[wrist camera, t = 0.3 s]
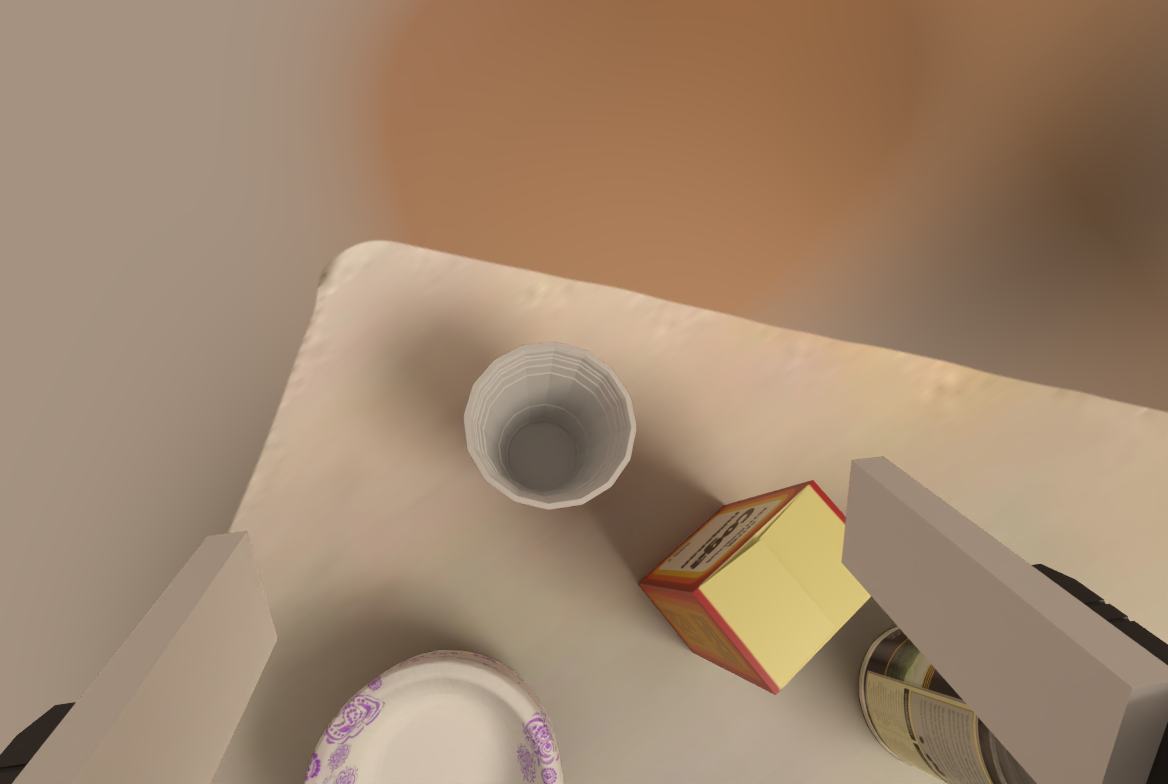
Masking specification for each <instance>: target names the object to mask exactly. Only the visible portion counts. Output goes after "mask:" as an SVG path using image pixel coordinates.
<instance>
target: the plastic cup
mask: <svg viewBox="0 0 1168 784" xmlns="http://www.w3.org/2000/svg"><path fill="white" fill-rule="evenodd" d="M463 417H464V425H465V434H466V442H467V450H468V452H469V453H470V455H471V457H472V459H473V460H474V462H475V464H476V465H477V467H478V469H479V471H480V472H481V474H482V476H483V477H484V479H485V480H486V481H487V482H488V483H490V484H491V485H492V486H494V487H495V488H496V489H498V490H499V491H501V492H502V493H503V494H505V495H506V496H507V497H509V498H510V499H511V500H513V501H515V502H519V503H523V504H527V505H531V506H535V507H539V508H543V509H547V510H551V509H557V508H563V507H570V506H576V505H583V504H584V503H586V502H588V501H589V500H591V499H592V498H594V497H596V496H597V495H599V494H600V493H602V492H604V491H605V490H607V489H609V488H610V487H612V485H613V484H614V482H615V481H616V480H617V478H618V477H619V475H620V474H621V472H622V471H623V469H624V468H625V467H626V465H627V464H628V462H629V461H630V459H631V454H632V449H633V444H634V439H635V434H636V429H637V426H636V422H635V417H634V412H633V407H632V402H631V397H630V395H629V393H628V392H627V390H626V389H625V387H624V386H623V384H622V383H621V381H620V380H619V378H618V377H617V375H616V374H615V372H614V371H613V369H612V368H610V367H609V366H607V365H606V364H605V363H603V362H602V361H600V360H599V359H598V358H596V357H595V356H593V355H592V354H591V353H589V352H588V351H587V350H583V349H579V348H576V347H572V346H568V345H565V344H561V343H557V342H550V343H539V344H529V345H522V346H520V347H518V348H516V349H514V350H512V351H510V352H509V353H507V354H505V355H503V356H501V357H499V358H497V359H495V360H494V361H493V362H492V363H491V364H490V365H489V366H488V368H487V369H486V370H485V371H484V372H483V374H482V375H481V376H480V377H479V378H478V379H477V381H476V382H475V383H474V384H473V386H472V390H471V393H470V396H469V400H468V403H467V406H466V409H465V413H464V416H463Z"/></svg>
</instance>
